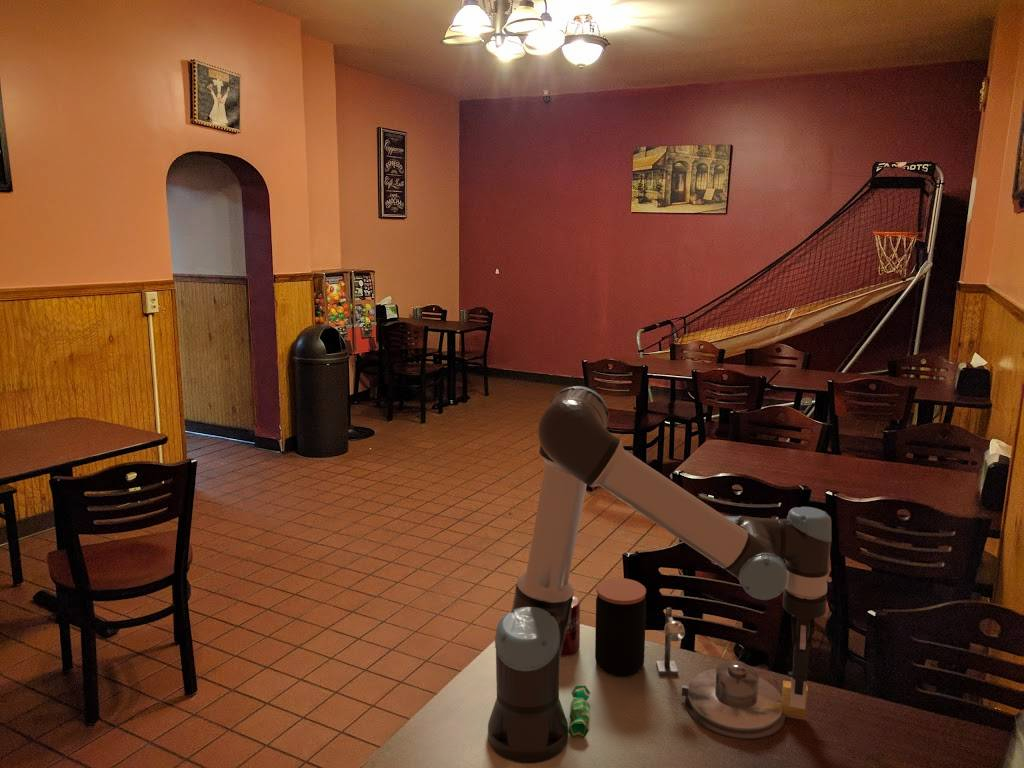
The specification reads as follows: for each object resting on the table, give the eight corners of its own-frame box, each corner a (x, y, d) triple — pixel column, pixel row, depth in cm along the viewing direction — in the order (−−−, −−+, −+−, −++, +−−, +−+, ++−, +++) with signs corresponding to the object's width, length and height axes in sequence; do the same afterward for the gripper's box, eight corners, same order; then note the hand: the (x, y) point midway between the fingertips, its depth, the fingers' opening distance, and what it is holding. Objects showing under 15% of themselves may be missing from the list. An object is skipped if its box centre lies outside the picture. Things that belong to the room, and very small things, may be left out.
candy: (591, 735, 138) (579, 718, 138) (576, 743, 139) (564, 726, 139) (593, 697, 150) (582, 681, 149) (579, 704, 151) (568, 688, 150)
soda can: (545, 641, 172) (545, 594, 169) (576, 639, 172) (576, 592, 170) (550, 659, 165) (550, 609, 162) (582, 657, 165) (583, 607, 163)
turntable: (715, 740, 136) (716, 711, 135) (672, 683, 153) (673, 657, 152) (815, 722, 141) (817, 694, 140) (763, 669, 158) (765, 644, 157)
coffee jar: (642, 652, 167) (644, 578, 163) (645, 680, 157) (648, 601, 153) (594, 650, 168) (595, 576, 165) (595, 677, 158) (596, 599, 154)
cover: (727, 711, 141) (728, 680, 140) (708, 686, 149) (709, 657, 148) (765, 705, 143) (767, 674, 142) (744, 681, 151) (746, 652, 149)
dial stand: (663, 689, 153) (665, 623, 150) (656, 664, 162) (658, 601, 159) (682, 689, 153) (685, 623, 150) (674, 664, 162) (676, 601, 159)
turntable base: (696, 739, 138) (696, 736, 138) (676, 679, 157) (677, 677, 156) (799, 740, 137) (799, 737, 137) (767, 680, 156) (767, 677, 156)
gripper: (828, 609, 130) (819, 730, 134) (825, 579, 142) (817, 691, 146) (782, 602, 132) (775, 721, 137) (784, 573, 144) (777, 683, 148)
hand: (797, 705), depth 141 cm, fingers closed
